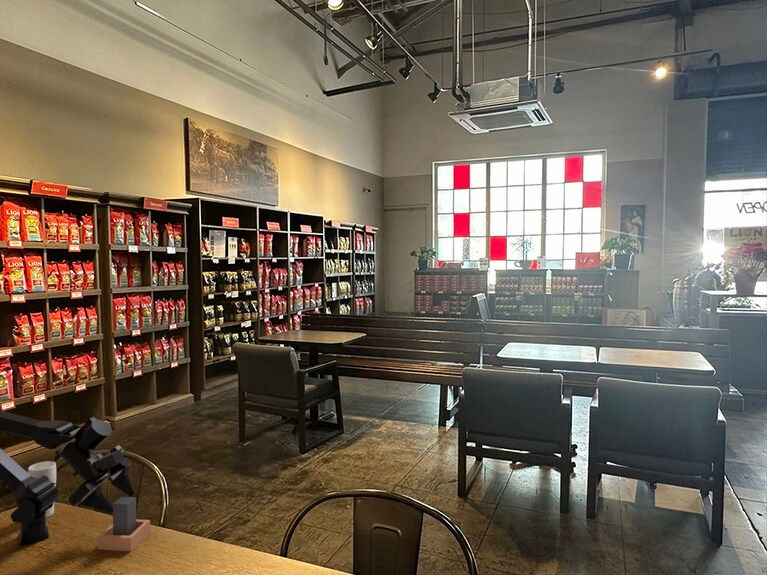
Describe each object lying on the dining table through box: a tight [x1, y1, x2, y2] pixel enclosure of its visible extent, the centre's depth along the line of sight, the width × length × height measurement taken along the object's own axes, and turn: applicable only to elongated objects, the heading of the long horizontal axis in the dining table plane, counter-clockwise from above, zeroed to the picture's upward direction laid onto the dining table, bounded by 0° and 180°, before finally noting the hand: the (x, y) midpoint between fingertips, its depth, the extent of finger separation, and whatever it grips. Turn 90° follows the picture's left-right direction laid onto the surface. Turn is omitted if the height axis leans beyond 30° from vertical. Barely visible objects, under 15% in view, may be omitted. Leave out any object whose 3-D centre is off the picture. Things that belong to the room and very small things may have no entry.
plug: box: [112, 496, 137, 536], centre depth 131 cm, size 4×4×11 cm
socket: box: [97, 518, 151, 552], centre depth 131 cm, size 9×9×4 cm
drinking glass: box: [27, 460, 57, 519], centre depth 143 cm, size 7×7×15 cm
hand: (123, 503), depth 131 cm, fingers open, 9 cm apart
